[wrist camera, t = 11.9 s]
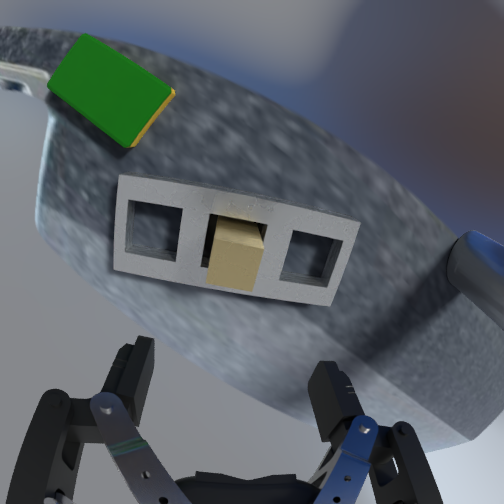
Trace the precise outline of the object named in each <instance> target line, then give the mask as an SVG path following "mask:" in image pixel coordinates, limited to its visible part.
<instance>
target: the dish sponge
mask: <svg viewBox="0 0 504 504" xmlns="http://www.w3.org/2000/svg"><path fill="white" fill-rule="evenodd" d="M47 88H48V89H50V90H51V91H52V92H54V93H55V94H56V95H57V96H59V97H60V98H61V99H63V100H64V101H65V102H66V103H68V104H69V105H70V106H72V107H73V108H74V109H75V110H77V111H78V112H79V113H81V114H82V115H83V116H84V117H86V118H87V119H88V120H89V121H91V122H92V123H93V124H95V125H96V126H97V127H98V128H100V129H101V130H102V131H104V132H105V133H106V134H107V135H109V136H110V137H111V138H112V139H114V140H115V141H116V142H118V143H119V144H120V145H121V146H123V147H124V148H127V147H134V146H136V145H137V143H138V142H139V140H140V139H141V138H142V136H143V135H144V134H145V132H146V131H147V130H148V128H149V127H150V126H151V124H152V123H153V122H154V120H155V119H156V118H157V117H158V115H159V114H160V113H161V112H162V110H163V109H164V108H165V107H166V106H167V104H168V103H169V102H170V101H171V100H172V98H173V97H174V96H175V91H174V90H173V89H172V88H171V87H169V86H168V85H167V84H165V83H164V82H162V81H161V80H159V79H158V78H156V77H155V76H154V75H152V74H151V73H149V72H148V71H146V70H145V69H143V68H142V67H140V66H139V65H137V64H136V63H134V62H133V61H131V60H129V59H128V58H126V57H125V56H123V55H122V54H120V53H118V52H117V51H115V50H113V49H112V48H110V47H109V46H107V45H105V44H104V43H102V42H100V41H98V40H97V39H95V38H93V37H92V36H90V35H88V34H86V33H85V34H82V35H81V36H80V38H79V39H78V40H77V42H76V43H75V44H74V45H73V47H72V48H71V49H70V51H69V52H68V54H67V55H66V56H65V58H64V59H63V61H62V62H61V63H60V65H59V66H58V68H57V69H56V71H55V72H54V74H53V75H52V77H51V79H50V80H49V82H48V83H47Z"/></svg>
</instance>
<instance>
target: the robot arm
mask: <svg viewBox="0 0 504 504" xmlns="http://www.w3.org/2000/svg"><path fill="white" fill-rule="evenodd" d="M447 277H448V280H449V282H450V283H451V284H452V285H453V286H454V287H456V288H457V289H458V290H459V291H460V292H461V293H463V294H464V295H465V296H466V297H467V298H468V299H470V300H471V301H472V302H473V303H474V304H475V305H476V306H478V307H479V308H480V309H481V310H482V311H483V312H484V313H485V314H486V315H487V316H489V317H490V318H491V319H492V320H493V321H494V322H495V323H496V324H497V325H498V326H499V327H500V328H501V329H502V330H503V331H504V246H503V245H501V244H499V243H497V242H496V241H494V240H492V239H490V238H489V237H487V236H484V235H483V234H481V233H479V232H477V231H473V230H472V231H468V232H467V233H465V234H463V235H462V236H461V237H460V238H459V240H458V241H457V242H456V244H455V245H454V247H453V249H452V251H451V253H450V256H449V259H448V264H447ZM153 369H154V338H149V337H144V336H138V338H137V340H136V342H135V345H131V344H127V343H126V344H125V345H124V346H123V347H122V348H120V349H119V351H118V353H117V355H116V358H115V360H114V362H113V365H112V367H111V369H110V371H109V374H108V376H107V378H106V381H105V383H104V386H103V388H102V390H101V392H100V393H98V394H96V395H94V396H93V397H92V398H89V399H76V398H70V397H69V396H68V394H67V393H66V392H64V391H62V390H59V389H51V390H48V391H46V392H45V393H44V394H43V395H42V397H41V399H40V401H39V404H38V406H37V408H36V411H35V413H34V415H33V418H32V421H31V423H30V425H29V428H28V431H27V433H26V436H25V439H24V441H23V444H22V447H21V450H20V453H19V456H18V459H17V462H16V465H15V469H14V472H13V476H12V479H11V483H10V487H9V491H8V496H7V500H6V504H75V503H74V502H73V501H72V500H73V494H74V488H75V483H76V478H77V473H78V469H79V464H80V460H81V455H82V451H83V447H84V443H105V445H106V447H107V449H108V451H109V453H110V455H111V457H112V459H113V461H114V463H115V465H116V466H117V468H118V470H119V472H120V474H121V476H122V477H123V479H124V481H125V482H126V484H127V486H128V487H129V489H130V491H131V492H132V494H133V495H134V497H135V498H136V500H137V501H138V503H139V504H355V502H356V499H357V497H358V495H359V493H360V491H361V488H362V486H363V484H364V481H365V479H366V476H367V474H368V473H369V477H370V480H371V484H372V488H373V492H374V495H375V500H376V503H377V504H443V501H442V499H441V495H440V492H439V490H438V487H437V484H436V482H435V479H434V477H433V474H432V471H431V469H430V466H429V464H428V461H427V459H426V456H425V454H424V451H423V449H422V447H421V444H420V442H419V440H418V437H417V435H416V433H415V430H414V428H413V427H412V426H411V425H410V424H409V423H407V422H404V421H399V422H397V423H395V424H394V425H393V426H392V427H387V426H380V425H378V424H377V422H376V421H375V420H374V419H373V418H371V417H369V416H366V415H365V414H364V411H363V409H362V407H361V404H360V402H359V400H358V397H357V395H356V393H355V390H354V388H353V387H352V383H351V381H350V379H349V377H348V376H347V375H346V374H345V373H344V372H343V371H339V369H338V366H337V364H336V362H335V361H319V363H318V364H317V366H316V368H315V370H314V372H313V374H312V376H311V378H310V380H309V383H308V393H309V397H310V400H311V404H312V407H313V411H314V415H315V418H316V422H317V426H318V429H319V433H320V437H321V440H322V442H331V446H330V447H329V449H328V451H327V452H326V454H325V456H324V458H323V460H322V461H321V463H320V465H319V467H318V468H317V470H316V472H315V473H314V475H313V476H312V477H311V478H310V479H309V481H308V482H305V481H301V480H297V479H296V474H286V475H271V476H267V477H263V478H258V479H253V480H243V479H239V478H236V477H232V476H228V475H224V474H218V473H208V472H199V471H196V474H195V476H191V477H185V478H181V479H178V480H176V481H174V480H173V479H172V478H171V476H170V475H169V474H168V472H167V471H166V470H165V468H164V467H163V465H162V464H161V462H160V461H159V459H158V458H157V456H156V455H155V453H154V452H153V450H152V449H151V447H150V446H149V444H148V443H147V442H146V440H143V439H142V437H141V436H140V434H139V432H138V430H137V429H136V427H135V426H137V427H139V424H140V420H141V415H142V411H143V407H144V404H145V400H146V396H147V392H148V388H149V385H150V381H151V377H152V374H153ZM393 457H394V458H395V461H396V464H397V467H398V473H397V470H396V467H395V464H394V461H393V459H392V458H393Z"/></svg>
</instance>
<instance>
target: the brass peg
mask: <svg viewBox="0 0 504 504" xmlns="http://www.w3.org/2000/svg"><path fill="white" fill-rule="evenodd" d="M263 252H264V246H263V243H262V240H261V236H260V233H259V229H258V226H257V224H256V223H252V222H247V221H242V220H238V219H233V218H228V217H223V216H219V215H218V220H217V224H216V229H215V234H214V239H213V243H212V248H211V254H210V259H209V265H208V271H207V277H206V283H207V284H212V285H217V286H222V287H228V288H233V289H238V290H244V291H250V292H252V291H253V287H254V284H255V280H256V277H257V273H258V270H259V266H260V263H261V259H262V255H263Z"/></svg>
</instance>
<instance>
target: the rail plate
mask: <svg viewBox="0 0 504 504" xmlns="http://www.w3.org/2000/svg"><path fill="white" fill-rule="evenodd" d="M136 201H142V202H148V203H154V204H160V205H166V206H172V207H178V208H183V213H182V219H181V226H180V233H179V241H178V248H177V252H174V251H169V250H163V249H158V248H153V247H148V246H142V245H137V244H132V241H133V227H134V215H135V205H136ZM210 213H211V214H216V215H222V216H227V217H232V218H238V219H243V220H248V221H253V222H258V223H263V227H262V231H261V240H262V243H263V246H264V252H263V255H262V259H261V263H260V266H259V270H258V273H257V277H256V280H255V284H254V287H253V291H252V292H250V291H244V290H238V289H233V288H228V287H222V286H217V285H212V284H207V283H206V277H207V271H208V265H209V259H210V258H207V257H203V253H204V247H205V241H206V235H207V229H208V224H209V218H210ZM359 227H360V222H359V221H358V220H356V219H355V218H353V217H352V216H349V215H345V214H341V213H338V212H334V211H330V210H326V209H322V208H318V207H314V206H310V205H306V204H301V203H297V202H293V201H289V200H284V199H280V198H275V197H271V196H266V195H261V194H257V193H252V192H247V191H242V190H237V189H232V188H227V187H222V186H216V185H211V184H205V183H200V182H194V181H188V180H182V179H176V178H170V177H163V176H157V175H150V174H143V173H136V172H125V173H122V174H119V181H118V190H117V201H116V214H115V231H114V270H118V271H122V272H127V273H132V274H137V275H141V276H146V277H151V278H156V279H161V280H166V281H172V282H177V283H182V284H187V285H193V286H198V287H204V288H210V289H215V290H221V291H227V292H233V293H239V294H246V295H252V296H258V297H265V298H272V299H278V300H285V301H293V302H300V303H307V304H315V305H323V306H331V303H332V301H333V298H334V296H335V293H336V291H337V288H338V286H339V283H340V280H341V278H342V275H343V272H344V270H345V267H346V264H347V262H348V259H349V256H350V253H351V250H352V247H353V244H354V242H355V239H356V236H357V233H358V230H359ZM293 230H297V231H302V232H306V233H311V234H316V235H320V236H325V237H329V238H334V239H333V242H332V245H331V248H330V251H329V254H328V257H327V260H326V263H325V266H324V269H323V272H322V275H321V277H316V276H310V275H304V274H298V273H292V272H286V271H282V267H283V264H284V260H285V257H286V253H287V250H288V246H289V243H290V239H291V236H292V232H293Z"/></svg>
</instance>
